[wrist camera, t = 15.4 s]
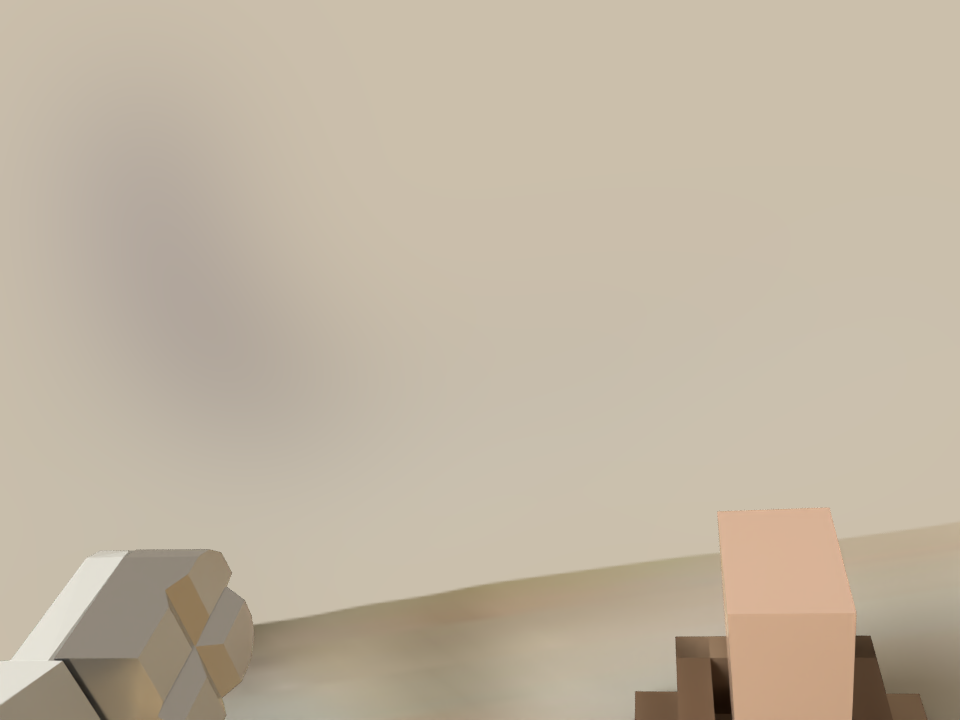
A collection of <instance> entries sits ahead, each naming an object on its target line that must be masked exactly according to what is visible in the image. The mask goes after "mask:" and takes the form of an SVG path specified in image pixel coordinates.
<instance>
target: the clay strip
mask: <svg viewBox="0 0 960 720" xmlns="http://www.w3.org/2000/svg"><path fill="white" fill-rule="evenodd" d="M717 514H718V528H719V542H720V557H721V572H722V586H723V600H724V615H725V629H726V644H727V658H728V672H729V687H730V701H731V715H732V720H852V707H853V683H854V659H855V635H856V609H855V606H854V602H853V598H852V594H851V590H850V586H849V582H848V578H847V574H846V570H845V567H844V563H843V559H842V555H841V551H840V547H839V543H838V539H837V535H836V532H835V528H834V524H833V520H832V516H831V512H830V508H801V509H775V510H774V509H773V510H748V511H719V512H717Z"/></svg>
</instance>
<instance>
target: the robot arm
mask: <svg viewBox="0 0 960 720" xmlns="http://www.w3.org/2000/svg"><path fill="white" fill-rule="evenodd" d="M231 574H232V572H231V570H230V568H229V566H228V564H227V562H226V561H225V559H224V557H223V555H222V553H221V552H217V551H213V550H208V549H206V550H205V549H201V550H200V549H196V550H195V549H194V550H135V551H99V552H97V553H95V554H93V555H91V556H89V557H87V558H86V559H85V561H84V562H83V563H82V565H81V566H80V567H79V569H78V570H77V571H76V573H75V574H74V575H73V577H72V578H71V579H70V581H69V582H68V583H67V585H66V586H65V587H64V589H63V590H62V592H61V593H60V594H59V596H58V597H57V598H56V600H55V601H54V602H53V604H52V605H51V606H50V608H49V609H48V610H47V612H46V613H45V614H44V616H43V617H42V618H41V620H40V621H39V622H38V624H37V625H36V626H35V628H34V629H33V630H32V632H31V633H30V635H29V636H28V637H27V639H26V640H25V641H24V643H23V644H22V645H21V647H20V648H19V650H18V651H17V652H16V653H15V655H14V656H13V657H12V659H11V660H9V661H8V660H4V661H0V720H224V719H225V717H226V712H225V708H224V704H223V700H222V698H223V697H224V696H225V695H226V694H227V693H228V692H230V691H231V690H232V689H233V688H234V687H236V686H237V685H238V684H239V683H240V682H242V680H243V677H244V675H245V673H246V670H247V668H248V666H249V663H250V661H251V657H252V649H253V642H254V628H253V622H252V615H251V613H250V611H249V609H248V607H247V604H246V602H245V600H244V599H242V598H241V597H240V596H238V595H237V594H236V593H234V592H233V591H232V590H230V589H229V588H228V587H227V584H228V582H229V579H230V577H231Z"/></svg>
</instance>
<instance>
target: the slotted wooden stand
mask: <svg viewBox="0 0 960 720" xmlns="http://www.w3.org/2000/svg"><path fill="white" fill-rule="evenodd" d="M675 638H676V664H677V691H678V692H641V691H635V720H732V715H731V701H730V687H729V672H728V658H727V644H726V636H714V637H675ZM852 720H927V717H926V714H925V711H924V707H923V704H922V701H921V698H920V694H886V692H885V688H884V684H883V680H882V677H881V673H880V669H879V666H878V662H877V658H876V654H875V651H874V647H873V643H872V640H871V636H855V659H854V683H853V707H852Z"/></svg>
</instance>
